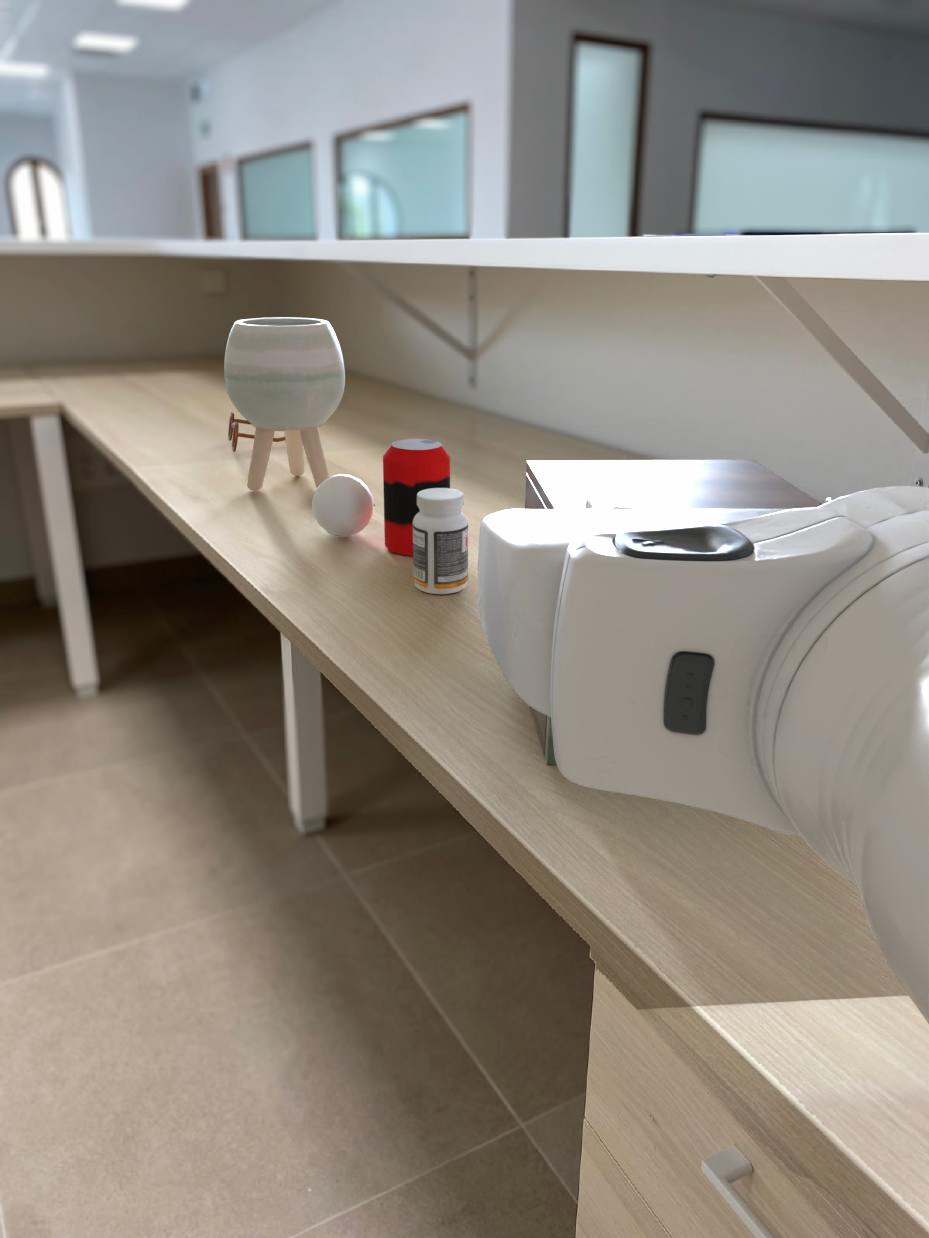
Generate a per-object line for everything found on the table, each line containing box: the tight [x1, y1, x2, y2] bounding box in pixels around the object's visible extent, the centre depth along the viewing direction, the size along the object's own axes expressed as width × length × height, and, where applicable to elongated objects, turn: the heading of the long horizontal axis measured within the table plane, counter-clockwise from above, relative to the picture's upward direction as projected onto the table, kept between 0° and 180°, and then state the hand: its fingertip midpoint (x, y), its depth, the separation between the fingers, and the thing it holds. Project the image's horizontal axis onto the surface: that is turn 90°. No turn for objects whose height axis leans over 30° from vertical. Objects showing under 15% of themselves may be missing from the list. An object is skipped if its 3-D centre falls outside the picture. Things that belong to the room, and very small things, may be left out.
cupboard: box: [524, 459, 823, 757], centre depth 69 cm, size 14×18×18 cm
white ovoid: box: [311, 473, 376, 537], centre depth 112 cm, size 10×7×7 cm
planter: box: [223, 316, 346, 492], centre depth 128 cm, size 16×16×22 cm
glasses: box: [227, 411, 285, 453], centre depth 155 cm, size 13×13×5 cm
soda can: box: [382, 438, 451, 557], centre depth 106 cm, size 8×8×12 cm
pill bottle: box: [412, 487, 469, 595], centre depth 94 cm, size 6×6×10 cm
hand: (721, 517), depth 36 cm, fingers open, 8 cm apart
